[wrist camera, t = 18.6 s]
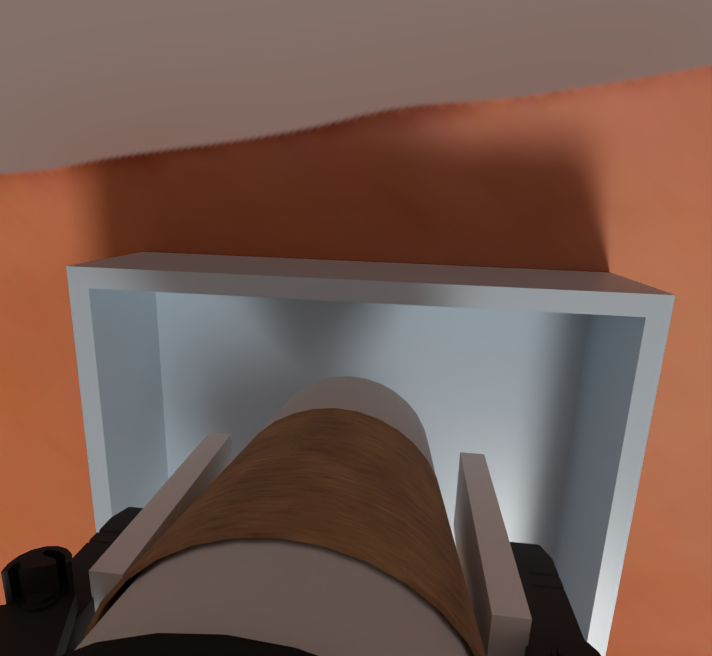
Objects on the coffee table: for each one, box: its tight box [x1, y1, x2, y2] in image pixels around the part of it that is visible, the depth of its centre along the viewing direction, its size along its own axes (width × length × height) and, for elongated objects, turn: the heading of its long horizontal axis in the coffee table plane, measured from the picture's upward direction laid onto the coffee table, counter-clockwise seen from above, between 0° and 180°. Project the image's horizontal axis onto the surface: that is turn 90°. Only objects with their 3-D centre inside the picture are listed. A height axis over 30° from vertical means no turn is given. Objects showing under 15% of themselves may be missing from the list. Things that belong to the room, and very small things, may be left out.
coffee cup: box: [60, 376, 486, 656], centre depth 11 cm, size 8×8×15 cm
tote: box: [66, 252, 675, 656], centre depth 23 cm, size 22×24×6 cm
